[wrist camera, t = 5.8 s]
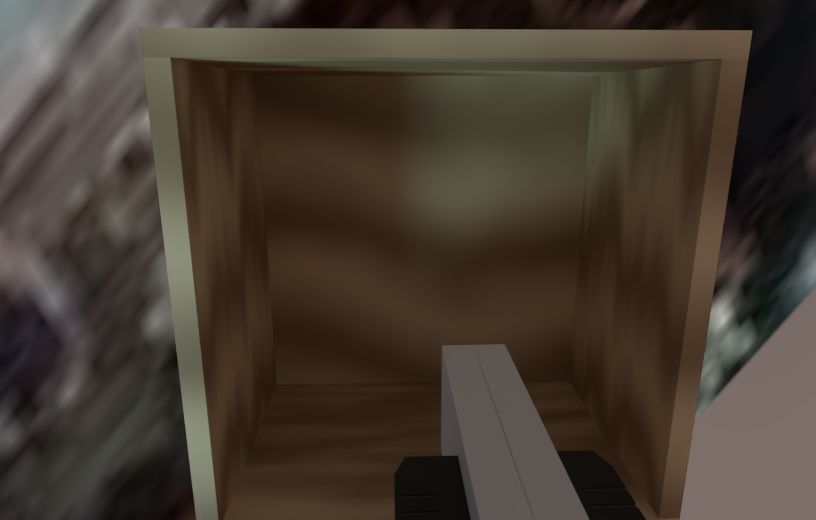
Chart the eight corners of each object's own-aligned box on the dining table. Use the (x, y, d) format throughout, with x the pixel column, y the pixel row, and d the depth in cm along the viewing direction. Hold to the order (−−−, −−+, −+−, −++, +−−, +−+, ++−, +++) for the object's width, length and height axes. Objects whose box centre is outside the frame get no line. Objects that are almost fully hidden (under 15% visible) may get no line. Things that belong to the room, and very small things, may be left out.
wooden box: (241, 58, 28) (138, 27, 16) (604, 59, 29) (752, 30, 17) (266, 390, 33) (199, 547, 21) (576, 385, 33) (676, 535, 22)
